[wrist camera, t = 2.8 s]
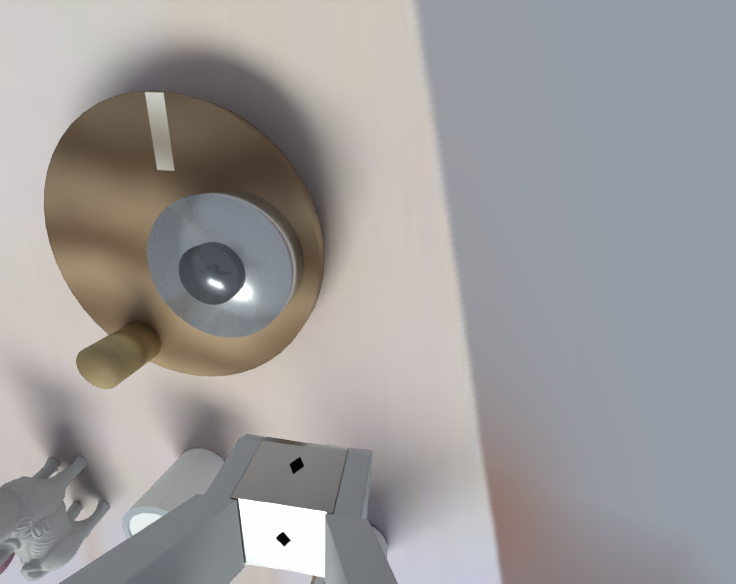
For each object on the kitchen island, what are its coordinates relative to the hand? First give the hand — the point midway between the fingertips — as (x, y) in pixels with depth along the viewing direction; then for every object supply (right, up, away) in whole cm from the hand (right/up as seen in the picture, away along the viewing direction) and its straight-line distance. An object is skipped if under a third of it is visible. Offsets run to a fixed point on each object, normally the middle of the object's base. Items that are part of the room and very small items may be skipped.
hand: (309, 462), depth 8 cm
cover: (-7, +6, +16) cm, 19 cm away
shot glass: (-16, -14, +28) cm, 35 cm away
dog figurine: (-32, -17, +31) cm, 47 cm away
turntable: (-12, +7, +18) cm, 22 cm away
